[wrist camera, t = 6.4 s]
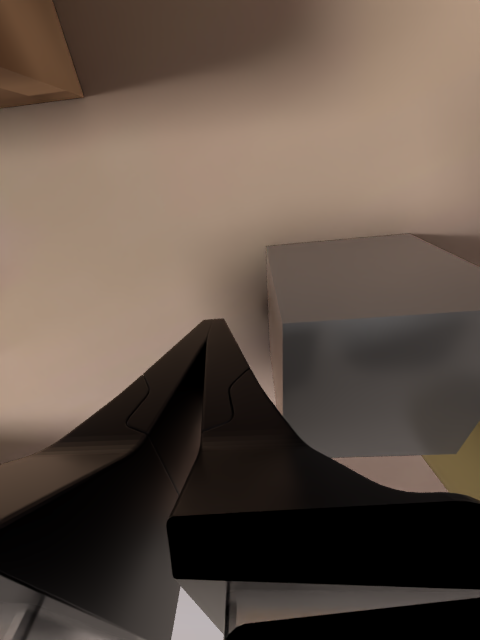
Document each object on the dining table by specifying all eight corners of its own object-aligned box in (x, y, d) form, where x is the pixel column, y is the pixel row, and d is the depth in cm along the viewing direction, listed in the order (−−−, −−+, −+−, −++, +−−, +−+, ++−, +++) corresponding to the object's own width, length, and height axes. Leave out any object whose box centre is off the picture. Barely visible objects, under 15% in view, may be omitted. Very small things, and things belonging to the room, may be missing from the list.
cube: (379, 345, 11) (455, 453, 7) (269, 351, 12) (283, 458, 8) (409, 233, 9) (559, 305, 5) (265, 246, 9) (282, 323, 5)
